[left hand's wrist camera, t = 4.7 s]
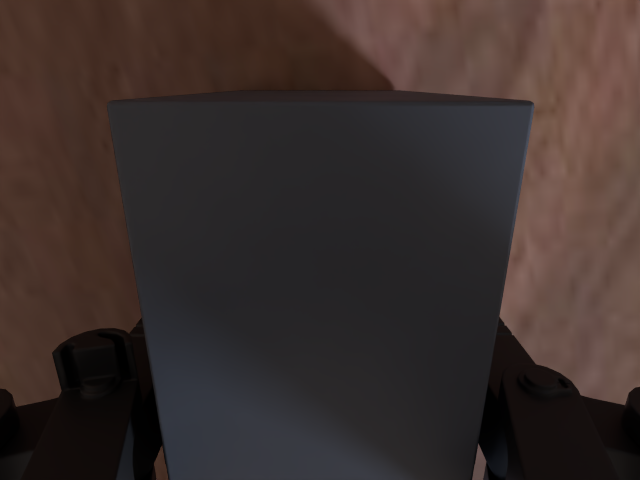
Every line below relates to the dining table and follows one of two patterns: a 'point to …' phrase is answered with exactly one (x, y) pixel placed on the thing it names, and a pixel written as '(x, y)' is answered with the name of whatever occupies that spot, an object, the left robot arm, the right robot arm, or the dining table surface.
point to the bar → (320, 275)
